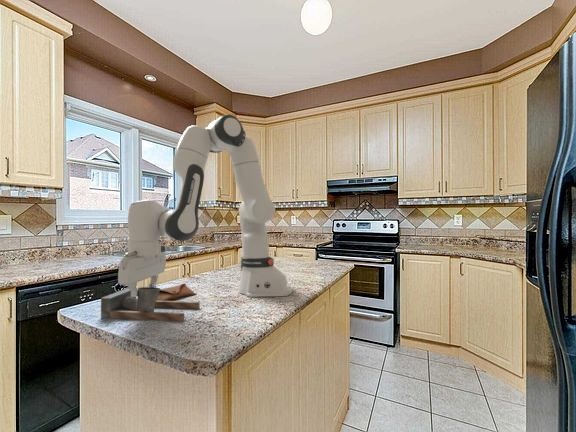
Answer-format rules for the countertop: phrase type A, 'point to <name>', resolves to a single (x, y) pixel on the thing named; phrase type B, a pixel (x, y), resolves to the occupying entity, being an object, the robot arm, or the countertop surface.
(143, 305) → the pipe
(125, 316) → the channel
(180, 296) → the sunglasses case
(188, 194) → the robot arm
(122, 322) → the countertop surface
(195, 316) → the countertop surface
